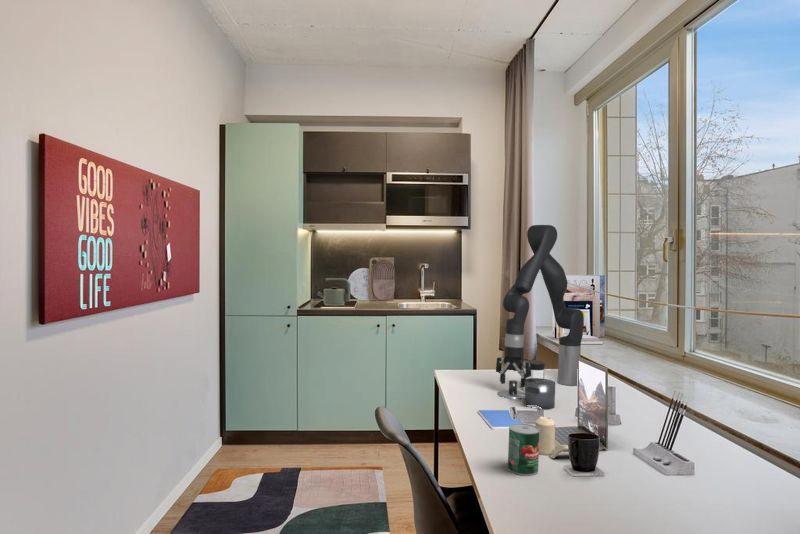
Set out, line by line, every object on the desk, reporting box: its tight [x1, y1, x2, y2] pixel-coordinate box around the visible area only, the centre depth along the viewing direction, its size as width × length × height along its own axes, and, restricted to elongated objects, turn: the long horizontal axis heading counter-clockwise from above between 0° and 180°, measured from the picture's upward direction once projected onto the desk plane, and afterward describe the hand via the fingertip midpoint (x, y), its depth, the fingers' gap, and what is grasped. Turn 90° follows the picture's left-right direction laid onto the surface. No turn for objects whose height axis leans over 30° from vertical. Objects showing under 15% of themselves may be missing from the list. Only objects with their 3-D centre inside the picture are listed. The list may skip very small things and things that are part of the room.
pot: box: [524, 378, 556, 411], centre depth 202 cm, size 15×11×9 cm
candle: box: [534, 416, 556, 456], centre depth 155 cm, size 6×6×10 cm
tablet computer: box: [477, 409, 526, 430], centre depth 184 cm, size 19×13×1 cm, turn 6°
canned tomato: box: [507, 423, 540, 477], centre depth 142 cm, size 8×8×11 cm
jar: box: [523, 359, 546, 392], centre depth 224 cm, size 9×8×12 cm
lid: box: [497, 380, 525, 400], centre depth 216 cm, size 12×12×6 cm
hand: (512, 385), depth 215 cm, fingers open, 8 cm apart
